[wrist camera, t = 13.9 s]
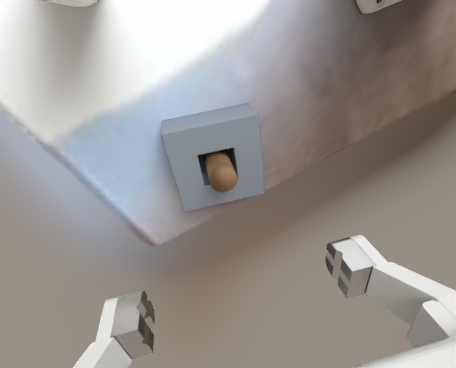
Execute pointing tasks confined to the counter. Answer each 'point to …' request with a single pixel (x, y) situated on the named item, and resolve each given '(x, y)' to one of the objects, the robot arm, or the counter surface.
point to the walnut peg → (220, 171)
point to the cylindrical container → (74, 2)
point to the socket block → (210, 142)
